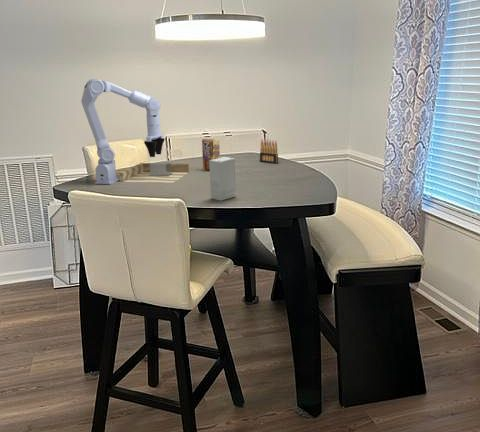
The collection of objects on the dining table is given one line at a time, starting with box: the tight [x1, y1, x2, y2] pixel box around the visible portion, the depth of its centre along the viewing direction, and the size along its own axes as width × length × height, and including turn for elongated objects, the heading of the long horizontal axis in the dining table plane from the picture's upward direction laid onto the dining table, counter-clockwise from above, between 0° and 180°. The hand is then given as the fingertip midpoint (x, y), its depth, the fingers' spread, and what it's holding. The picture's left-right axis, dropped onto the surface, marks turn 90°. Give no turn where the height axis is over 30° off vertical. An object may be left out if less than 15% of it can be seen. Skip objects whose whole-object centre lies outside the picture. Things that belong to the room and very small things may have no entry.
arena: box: [119, 162, 190, 184], centre depth 229 cm, size 24×24×5 cm
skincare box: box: [209, 156, 237, 201], centre depth 189 cm, size 8×6×15 cm
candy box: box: [201, 138, 221, 173], centre depth 242 cm, size 9×4×15 cm, turn 39°
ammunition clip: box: [259, 139, 279, 165], centre depth 261 cm, size 11×2×12 cm, turn 49°
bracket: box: [149, 162, 171, 176], centre depth 233 cm, size 8×6×5 cm
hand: (155, 155), depth 231 cm, fingers open, 7 cm apart
